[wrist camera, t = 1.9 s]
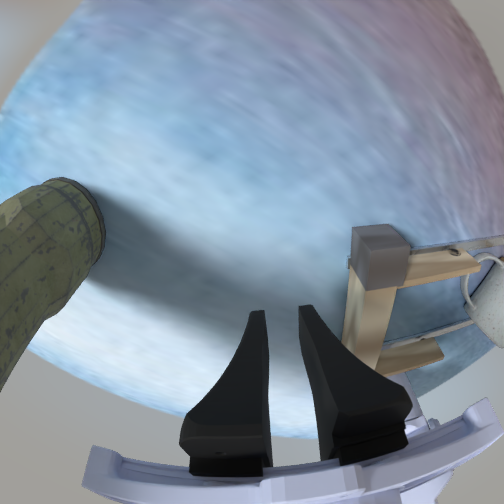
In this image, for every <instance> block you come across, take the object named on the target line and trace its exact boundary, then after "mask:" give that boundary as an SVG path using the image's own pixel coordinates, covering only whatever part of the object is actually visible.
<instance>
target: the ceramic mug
mask: <svg viewBox="0 0 504 504" xmlns="http://www.w3.org/2000/svg"><path fill="white" fill-rule="evenodd" d="M473 258H474V259H475V260H476V261H477V262H478V263H479V264H480V262H482V261H485V260H486V259H489V260H494V261H495V262H496V263H495V265H494V266H493V267H492V269H491V270H490V272H489V273H488V275H487V276H486V278H485V279H484V281H483V282H482V283H481V285H480V286H479V287H478V289H477V290H476V291H475V292H474V294H473V295H472V296H471V298H470V297H469V294H468V280H469V275H470V274H467V275H462V276H461V291H462V294H463V296H464V298H465V300H466V301H467V303H466V304H465V306H464V309H465V311H466V312H467V314H468V315H469V317H470V318H471V319H472V320H473V322H474V323H475V324H476V325H477V326H478V327H479V328H480V329H481V331H482V332H483V333H484V334H485V335H486V336H487V337H488V338H489V339H490V340H491V341H492V342H493V343H495V344H496V345H497V346H498V347H500V348H504V257H501V258H500V259H498V258H497V257H495V256H493V255H491V254H490V253H480V254H478V255H476V256H474V257H473Z"/></svg>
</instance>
